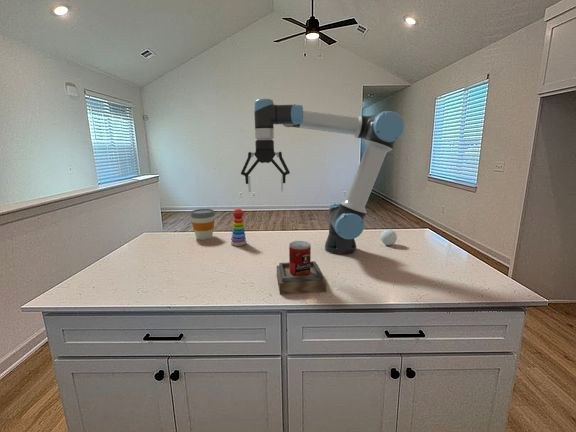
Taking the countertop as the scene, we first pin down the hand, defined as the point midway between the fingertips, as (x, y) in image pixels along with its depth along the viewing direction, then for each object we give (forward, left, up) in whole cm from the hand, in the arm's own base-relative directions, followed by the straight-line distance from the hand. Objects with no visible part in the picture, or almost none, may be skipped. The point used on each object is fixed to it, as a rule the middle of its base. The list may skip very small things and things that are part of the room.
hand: (265, 191), depth 129 cm
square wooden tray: (-11, +25, -31) cm, 41 cm away
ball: (-62, -14, -31) cm, 71 cm away
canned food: (-11, +25, -27) cm, 38 cm away
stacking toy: (+14, -25, -31) cm, 42 cm away
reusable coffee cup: (+34, -40, -31) cm, 61 cm away
